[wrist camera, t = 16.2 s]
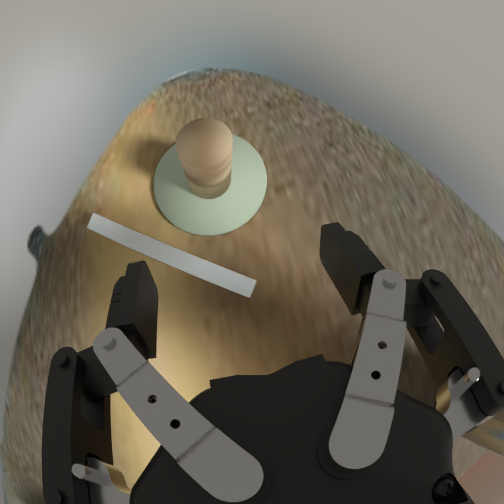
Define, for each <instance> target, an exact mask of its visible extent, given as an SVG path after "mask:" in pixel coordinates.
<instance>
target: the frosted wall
mask: <svg viewBox="0 0 504 504" xmlns="http://www.w3.org/2000/svg"><path fill="white" fill-rule="evenodd" d="M87 228H88V229H90V230H92V231H94V232H96V233H98V234H100V235H102V236H105V237H107V238H109V239H111V240H113V241H115V242H117V243H120V244H122V245H124V246H126V247H128V248H131V249H133V250H135V251H137V252H140V253H142V254H144V255H146V256H149V257H151V258H153V259H156V260H158V261H160V262H163V263H165V264H167V265H169V266H172V267H174V268H177V269H179V270H181V271H184V272H186V273H188V274H191V275H193V276H196V277H198V278H201V279H203V280H205V281H208V282H210V283H213V284H215V285H218V286H220V287H223V288H225V289H228V290H230V291H233V292H235V293H238V294H241V295H243V296H246V297H249V298H250V297H251V294H252V292H253V289H254V287H255V284H256V280H254V279H251V278H249V277H246V276H244V275H241V274H239V273H236V272H234V271H231V270H229V269H226V268H224V267H221V266H219V265H216V264H214V263H211V262H209V261H206V260H204V259H201V258H199V257H196V256H194V255H191V254H189V253H186V252H184V251H182V250H179V249H177V248H174V247H172V246H170V245H167V244H165V243H162V242H160V241H158V240H155V239H153V238H150V237H148V236H146V235H143V234H141V233H139V232H136V231H134V230H132V229H129V228H127V227H125V226H122V225H120V224H118V223H115V222H113V221H111V220H109V219H106V218H104V217H102V216H99V215H97V214H95V213H93V215H92V217H91V219H90V221H89V224H88V226H87Z"/></svg>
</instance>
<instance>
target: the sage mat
mask: <svg viewBox="0 0 504 504" xmlns="http://www.w3.org/2000/svg"><path fill="white" fill-rule="evenodd" d="M232 137H233V148H232V170H231V183H230V186H229V188H228V190H227V191H226V192H225V193H224V194H223V195H221V196H220V197H218V198H214V199H203V198H200V197H198V196H196V195H195V194H194V193H193V192H192V191H191V189H190V187H189V185H188V182H187V179H186V176H185V174H184V171H183V168H182V165H181V162H180V159H179V157H178V154H177V151H176V146H175V144H174V145H173V146H172V147H170V148H169V149H168V151H167V152H166V153H165V154H164V155H163V157H162V158H161V160H160V162H159V164H158V166H157V169H156V172H155V176H154V195H155V199H156V202H157V204H158V206H159V208H160V210H161V212H162V213H163V214H164V216H165V217H166V218H167V219H168V220H169V221H170V222H171V223H172V224H173V225H175V226H176V227H177V228H179V229H181V230H183V231H185V232H188V233H190V234H194V235H200V236H216V235H222V234H226V233H229V232H231V231H234V230H236V229H237V228H239V227H241V226H242V225H244V224H245V223H246V222H248V221H249V220H250V219H251V218H252V217H253V216H254V214H255V213H256V212H257V211H258V209H259V207H260V205H261V203H262V201H263V198H264V196H265V192H266V186H267V174H266V169H265V166H264V163H263V161H262V159H261V157H260V155H259V154H258V152H257V151H256V150H255V149H254V148H253V147H252V146H251V145H250V144H249V143H248V142H247V141H245V140H243V139H242V138H240V137H238V136H236V135H233V134H232Z"/></svg>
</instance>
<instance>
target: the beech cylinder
mask: <svg viewBox="0 0 504 504" xmlns="http://www.w3.org/2000/svg"><path fill="white" fill-rule="evenodd" d="M175 146H176V151H177V154H178V157H179V159H180V162H181V165H182V168H183V171H184V174H185V176H186V179H187V182H188V185H189V187H190V189H191V191H192V192H193V193H194V194H195V195H196V196H198V197H200V198H203V199H214V198H218V197H220V196H221V195H223V194H224V193H225V192H226V191H227V190H228V188H229V186H230V183H231V170H232V148H233V137H232V133H231V131H230V130H229V128H228V127H227V126H226V125H225V124H224V123H222V122H221V121H218V120H216V119H211V118H201V119H197V120H194V121H191V122H190V123H188V124H186V125H185V126H184V127H183V128H182V129H181V130H180V132H179V133H178V135H177V138H176V142H175Z"/></svg>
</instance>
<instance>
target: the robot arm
mask: <svg viewBox="0 0 504 504" xmlns="http://www.w3.org/2000/svg"><path fill="white" fill-rule="evenodd" d="M320 259H321V262H322V264H323V266H324V268H325V270H326V271H327V273H328V275H329V276H330V278H331V280H332V281H333V283H334V285H335V287H336V288H337V290H338V292H339V293H340V295H341V297H342V299H343V300H344V302H345V304H346V306H347V307H348V309H349V311H350V313H351V315H355V314H358V313H361V314H362V316H363V318H362V321H361V325H360V329H359V333H358V337H357V341H356V344H355V348H354V351H353V355H352V358H351V361H350V364H345V363H342V362H335V361H325V360H324V357H323V355H322V354H321V355H317V356H314V357H310V358H307V359H303V360H299V361H296V362H294V363H292V364H290V365H288V366H286V367H284V368H282V369H280V370H278V371H276V372H274V373H272V374H270V375H235V376H230V377H224V378H219V379H213V380H210V387H211V388H209V389H207V390H205V391H203V392H201V393H200V394H198V395H197V396H196V397H194V398H193V399H192V400H191V401H190V402H189V403H188V402H187V401H186V400H185V399H184V398H183V397H182V396H181V395H180V394H179V393H178V392H177V391H176V390H175V389H174V388H173V387H172V386H171V385H170V384H169V383H168V382H167V381H166V380H165V379H164V378H163V377H162V376H161V375H160V374H159V373H158V371H157V370H156V369H155V368H154V367H153V366H152V365H151V364H150V363H149V362H148V359H151V358H156V341H157V313H158V291H157V287H156V285H155V282H154V280H153V278H152V275H151V273H150V271H149V268H148V266H147V264H146V262H145V261H144V260H143V261H139V262H134V263H129V264H128V266H127V270H126V275H125V276H122V277H120V278H119V279H118V281H117V282H116V284H115V285H114V289H113V293H112V295H113V296H112V298H111V304H110V307H109V312H108V317H107V322H106V328H105V330H103V331H101V332H100V333H99V334H98V335H97V336H96V338H95V340H94V343H93V346H92V347H89V348H87V349H85V350H83V351H80V352H78V353H77V352H76V351H75V350H74V349H73V348H71V347H63V348H61V349H59V350H58V351H57V352H56V353H55V354H54V356H53V358H52V360H51V364H50V370H49V376H48V383H47V390H46V398H45V407H44V418H43V433H42V480H43V495H44V499H45V502H46V504H475V503H474V502H473V500H472V499H471V498H470V496H469V495H468V494H467V493H466V492H465V490H464V489H463V488H462V487H461V485H460V484H459V483H458V481H457V479H456V478H455V476H454V472H453V466H452V445H453V440H454V439H456V438H458V437H459V436H462V437H464V438H466V439H468V440H470V441H472V442H474V443H476V444H478V445H480V446H482V447H484V448H486V449H488V450H490V451H492V452H495V453H497V454H499V455H501V456H503V457H504V359H503V358H502V356H501V354H500V352H499V351H498V349H497V347H496V346H495V344H494V342H493V341H492V339H491V338H490V336H489V334H488V333H487V331H486V330H485V328H484V327H483V325H482V324H481V322H480V321H479V319H478V318H477V316H476V315H475V313H474V312H473V311H472V309H471V308H470V306H469V305H468V304H467V302H466V301H465V299H464V298H463V297H462V295H461V294H460V293H459V291H458V290H457V289H456V287H455V286H454V285H453V283H452V282H451V281H450V280H449V278H448V277H447V276H446V275H445V274H444V273H442V272H440V271H438V270H433V269H430V270H426V271H425V272H424V273H423V275H422V277H421V279H404V277H403V276H402V275H401V274H399V273H398V272H396V271H393V270H389V269H385V267H384V266H383V265H382V263H381V262H380V261H379V260H378V258H377V257H376V256H375V255H374V254H373V252H372V251H371V250H370V249H369V247H368V246H367V245H365V243H364V241H363V240H362V239H361V238H360V237H359V236H358V235H356V234H355V233H353V232H351V231H345V229H344V228H343V227H342V226H341V225H340V223H338V222H336V223H330V224H325V225H322V227H321V238H320ZM435 316H436V317H437V318H438V320H439V321H440V323H441V325H442V326H443V328H444V331H443V330H442V328H441V327H440V325H439V323H438V322H437V320H436V319H435ZM406 328H407V329H408V331H409V333H410V335H411V337H412V338H413V340H414V342H415V344H416V346H417V348H418V349H419V351H420V353H421V355H422V357H423V359H424V361H425V363H426V365H427V367H428V369H429V371H430V373H431V375H432V377H433V379H434V381H435V383H436V385H437V387H438V390H437V393H436V406H435V409H434V408H432V407H430V406H428V405H426V404H424V403H422V402H420V401H418V400H416V399H414V398H412V397H410V396H408V395H406V394H404V393H402V392H400V391H399V390H397V385H398V380H399V374H400V369H401V362H402V356H403V349H404V342H405V334H406ZM444 332H445V333H444ZM117 391H118V392H119V393H120V395H121V396H122V397H123V399H124V400H125V401H126V403H127V404H128V405H129V407H130V408H131V409H132V410H133V412H134V413H135V414H136V415H137V417H138V418H139V419H140V420H141V422H142V423H143V424H144V425H145V426H146V428H147V429H148V430H149V431H150V432H151V433H152V435H153V436H154V437H155V438H156V439H157V440H158V441H159V442H160V444H161V446H160V447H159V449H158V450H157V452H156V453H155V455H154V456H153V458H152V459H151V461H150V462H149V464H148V465H147V467H146V468H145V470H144V471H143V473H142V474H141V476H140V477H139V479H138V480H137V481H136V483H135V484H134V486H133V488H132V490H130V489H129V488H128V486H127V484H126V482H125V478H124V476H123V474H122V472H121V471H120V470H119V469H118V468H117V467H115V466H113V455H112V441H111V416H110V394H112V393H115V392H117Z"/></svg>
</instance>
